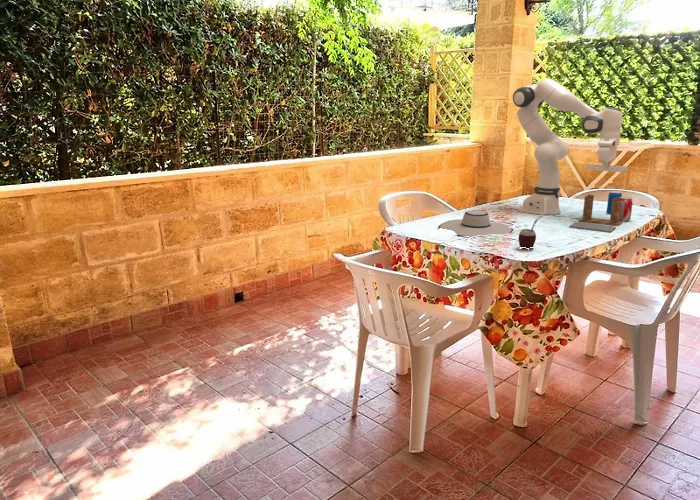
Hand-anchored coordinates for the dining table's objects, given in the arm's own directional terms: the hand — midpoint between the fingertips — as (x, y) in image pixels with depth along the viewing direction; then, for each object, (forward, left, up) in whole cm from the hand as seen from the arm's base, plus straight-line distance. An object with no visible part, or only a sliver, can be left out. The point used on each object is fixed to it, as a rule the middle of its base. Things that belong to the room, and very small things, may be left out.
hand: (606, 169), depth 257 cm
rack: (0, 0, -27) cm, 27 cm away
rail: (0, 0, 0) cm, 0 cm away
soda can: (+8, +10, -27) cm, 30 cm away
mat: (0, -15, -27) cm, 31 cm away
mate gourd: (-12, -68, -27) cm, 74 cm away
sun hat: (-46, -47, -28) cm, 72 cm away
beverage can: (+1, +25, -27) cm, 37 cm away
